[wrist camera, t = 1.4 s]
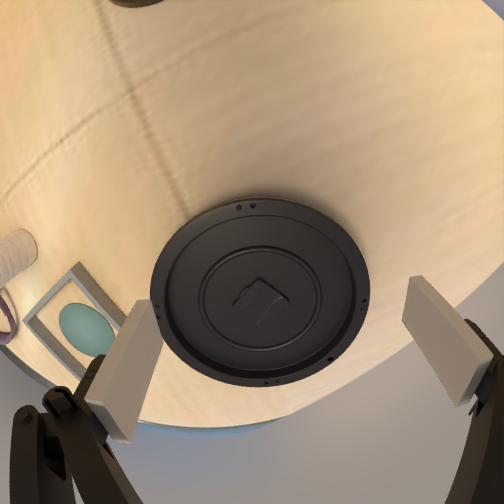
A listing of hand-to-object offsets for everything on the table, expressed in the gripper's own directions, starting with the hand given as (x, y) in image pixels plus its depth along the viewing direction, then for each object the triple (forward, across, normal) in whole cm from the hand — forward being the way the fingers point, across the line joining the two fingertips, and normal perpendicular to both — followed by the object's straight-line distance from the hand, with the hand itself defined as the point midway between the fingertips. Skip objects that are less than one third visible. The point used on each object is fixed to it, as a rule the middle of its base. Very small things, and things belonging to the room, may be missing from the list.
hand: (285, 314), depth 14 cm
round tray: (+27, -1, -14) cm, 30 cm away
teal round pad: (+26, -33, -20) cm, 47 cm away
